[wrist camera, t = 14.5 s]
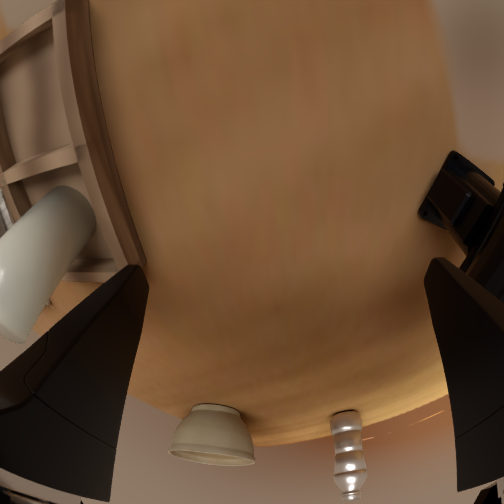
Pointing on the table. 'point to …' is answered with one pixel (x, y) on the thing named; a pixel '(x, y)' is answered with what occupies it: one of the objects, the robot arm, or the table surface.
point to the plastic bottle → (348, 454)
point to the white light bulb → (40, 256)
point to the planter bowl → (213, 437)
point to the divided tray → (62, 134)
